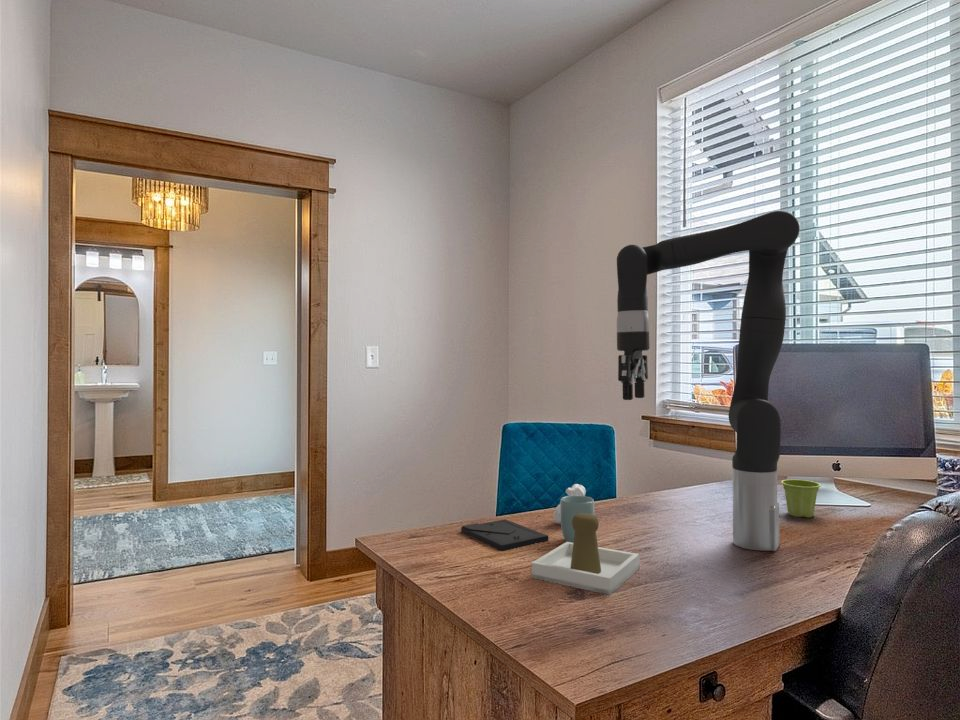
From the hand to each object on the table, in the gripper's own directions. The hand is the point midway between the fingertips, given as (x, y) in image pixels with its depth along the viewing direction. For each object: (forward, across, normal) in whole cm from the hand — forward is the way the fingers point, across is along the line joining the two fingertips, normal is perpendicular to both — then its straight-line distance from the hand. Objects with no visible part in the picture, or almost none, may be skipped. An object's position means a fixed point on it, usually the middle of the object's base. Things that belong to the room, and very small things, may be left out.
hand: (633, 398), depth 143 cm
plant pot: (+33, +43, -31) cm, 63 cm away
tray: (+33, -29, 0) cm, 44 cm away
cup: (+33, -11, +10) cm, 36 cm away
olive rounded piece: (+32, -29, 0) cm, 44 cm away
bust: (+33, +4, +18) cm, 38 cm away
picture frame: (+34, -16, +27) cm, 46 cm away
